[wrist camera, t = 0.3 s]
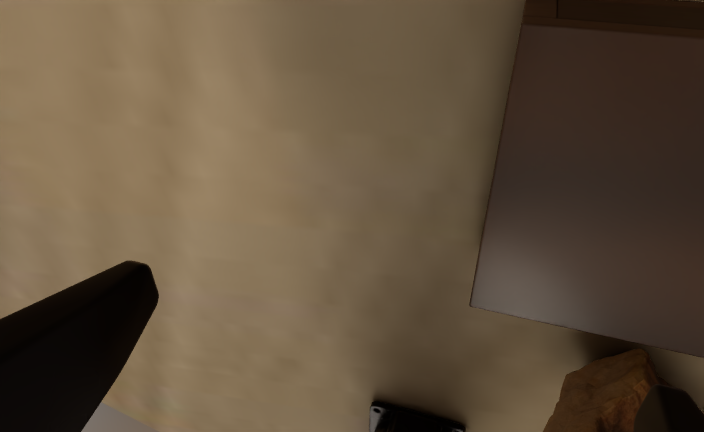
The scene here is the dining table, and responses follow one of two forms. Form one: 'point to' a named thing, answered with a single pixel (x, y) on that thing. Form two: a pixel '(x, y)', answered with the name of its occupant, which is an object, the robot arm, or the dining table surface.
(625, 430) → the decorative rock
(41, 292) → the dining table surface
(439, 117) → the dining table surface
